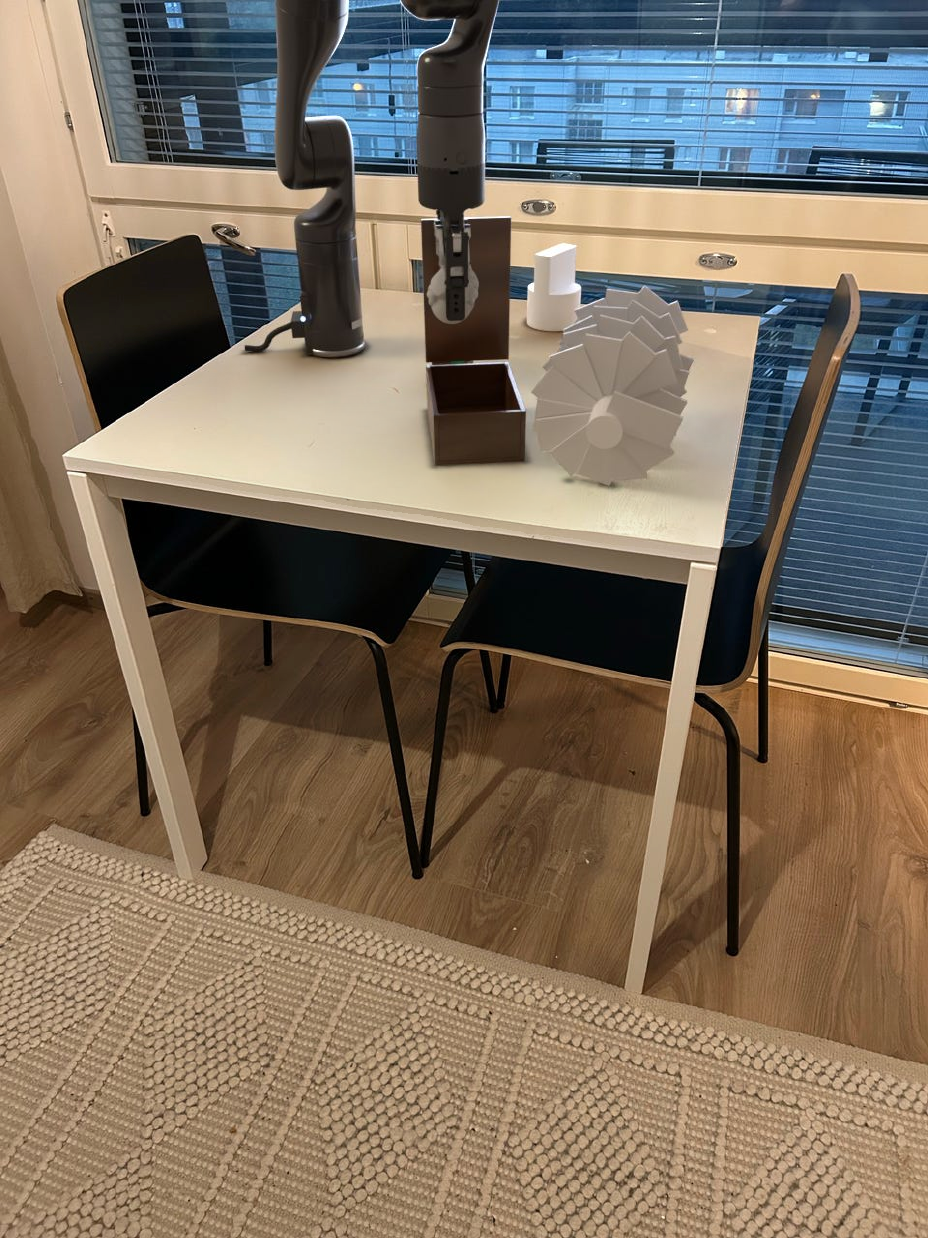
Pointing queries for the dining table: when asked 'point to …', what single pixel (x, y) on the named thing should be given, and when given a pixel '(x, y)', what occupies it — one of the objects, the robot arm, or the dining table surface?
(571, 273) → the base with upright slab
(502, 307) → the chest lid
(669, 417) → the spiral staircase
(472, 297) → the grey rounded lumpy piece
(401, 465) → the dining table surface
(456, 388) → the chest
